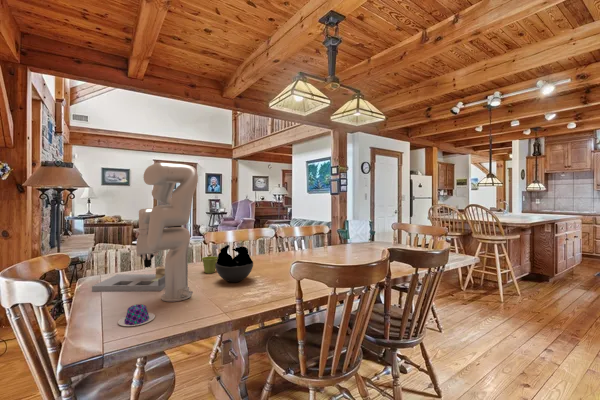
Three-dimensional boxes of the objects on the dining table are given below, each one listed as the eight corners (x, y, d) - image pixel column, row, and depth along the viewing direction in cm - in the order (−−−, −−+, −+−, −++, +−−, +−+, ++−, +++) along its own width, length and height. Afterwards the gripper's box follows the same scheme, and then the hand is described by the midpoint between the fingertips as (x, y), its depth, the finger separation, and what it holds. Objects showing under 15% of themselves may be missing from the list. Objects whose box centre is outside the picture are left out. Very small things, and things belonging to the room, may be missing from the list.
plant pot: (201, 270, 181) (201, 256, 181) (217, 269, 184) (217, 255, 184) (201, 274, 172) (201, 259, 172) (218, 273, 175) (218, 259, 175)
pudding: (157, 322, 108) (157, 308, 108) (119, 331, 101) (119, 316, 101) (152, 312, 118) (152, 298, 118) (116, 319, 111) (116, 305, 111)
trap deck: (176, 278, 164) (176, 268, 164) (160, 290, 143) (160, 279, 143) (117, 278, 162) (117, 268, 162) (91, 291, 141) (91, 279, 141)
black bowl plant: (257, 284, 154) (257, 248, 154) (217, 288, 147) (217, 250, 146) (249, 274, 173) (249, 242, 172) (213, 278, 165) (213, 244, 165)
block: (167, 275, 161) (167, 266, 161) (166, 277, 156) (166, 268, 156) (157, 276, 160) (157, 266, 160) (155, 278, 155) (155, 268, 155)
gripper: (164, 231, 160) (165, 265, 160) (136, 231, 160) (136, 266, 159) (158, 232, 153) (159, 268, 152) (128, 233, 152) (129, 269, 152)
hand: (147, 267), depth 156 cm, fingers closed
